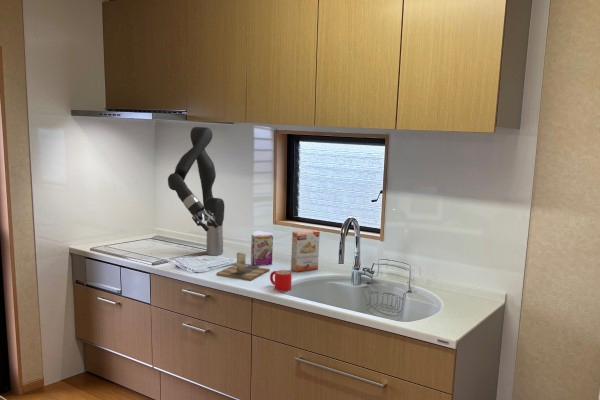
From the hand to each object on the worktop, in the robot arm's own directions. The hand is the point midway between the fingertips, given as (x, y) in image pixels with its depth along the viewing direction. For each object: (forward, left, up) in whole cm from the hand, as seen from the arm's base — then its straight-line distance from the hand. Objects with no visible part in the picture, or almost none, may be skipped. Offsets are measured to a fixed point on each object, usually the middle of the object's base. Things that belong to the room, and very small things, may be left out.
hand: (212, 228), depth 276 cm
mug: (+10, +44, -22) cm, 50 cm away
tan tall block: (+1, +18, -21) cm, 27 cm away
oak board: (-3, +17, -22) cm, 28 cm away
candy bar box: (-23, +17, -22) cm, 36 cm away
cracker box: (-25, +42, -22) cm, 54 cm away
